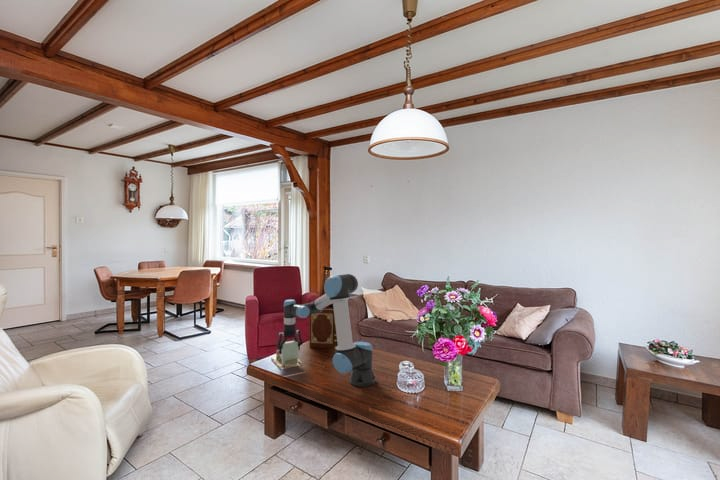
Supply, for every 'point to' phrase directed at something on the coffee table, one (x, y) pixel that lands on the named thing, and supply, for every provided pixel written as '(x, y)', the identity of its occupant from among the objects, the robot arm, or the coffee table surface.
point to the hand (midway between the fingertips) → (289, 357)
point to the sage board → (290, 351)
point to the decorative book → (323, 329)
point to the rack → (287, 363)
